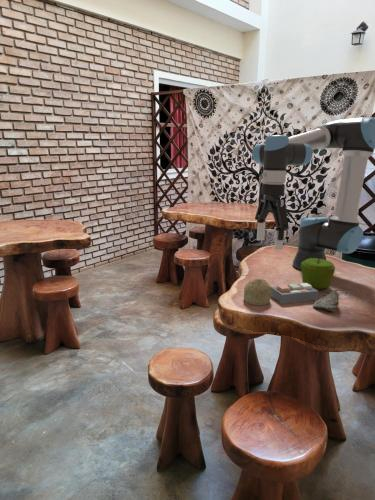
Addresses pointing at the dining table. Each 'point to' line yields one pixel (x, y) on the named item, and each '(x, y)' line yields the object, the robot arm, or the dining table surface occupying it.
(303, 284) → the key
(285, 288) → the key
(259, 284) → the decorative object
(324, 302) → the rock sample
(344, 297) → the dining table surface
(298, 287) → the key
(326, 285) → the apple
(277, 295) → the keypad
